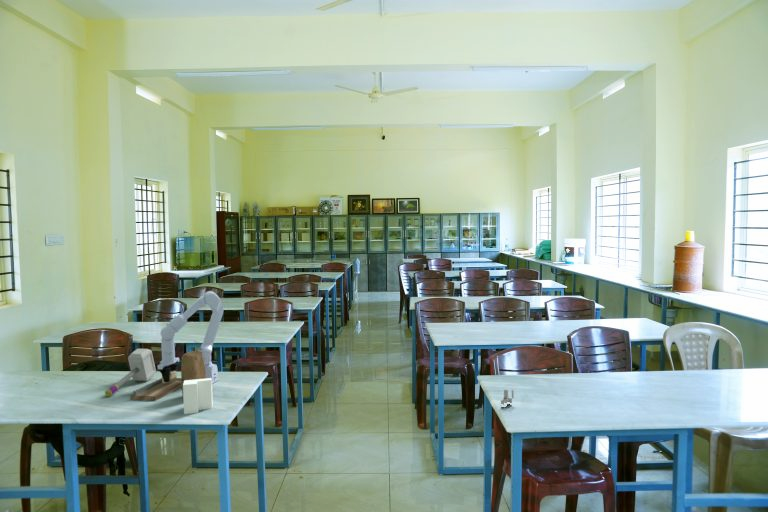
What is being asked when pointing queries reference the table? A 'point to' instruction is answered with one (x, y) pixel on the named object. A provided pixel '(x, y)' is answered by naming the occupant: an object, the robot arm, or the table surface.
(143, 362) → the hammer
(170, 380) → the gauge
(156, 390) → the board
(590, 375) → the table surface
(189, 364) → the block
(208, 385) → the corner bracket
